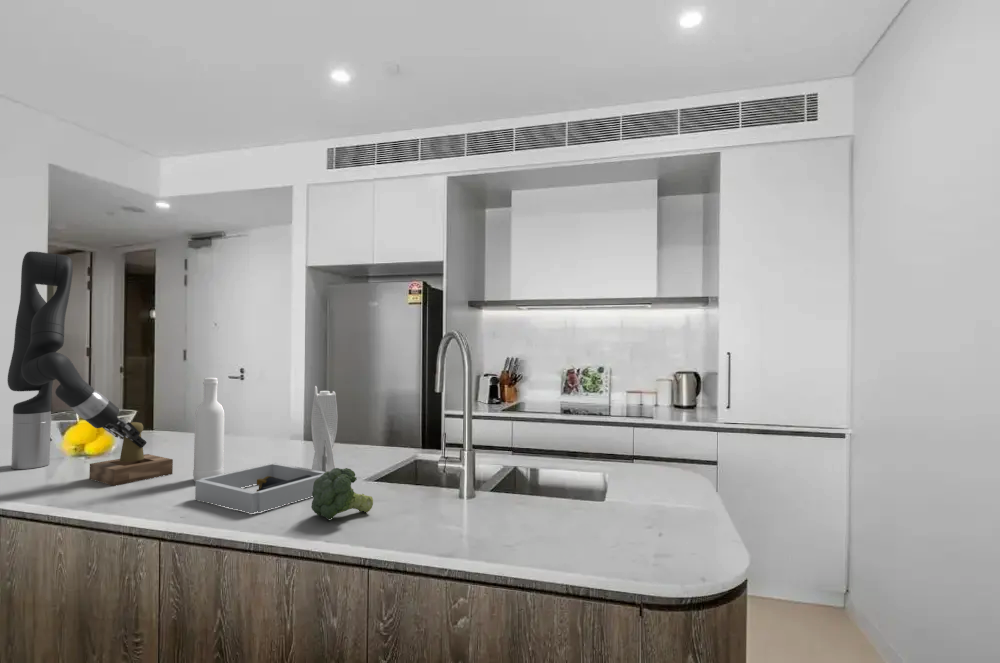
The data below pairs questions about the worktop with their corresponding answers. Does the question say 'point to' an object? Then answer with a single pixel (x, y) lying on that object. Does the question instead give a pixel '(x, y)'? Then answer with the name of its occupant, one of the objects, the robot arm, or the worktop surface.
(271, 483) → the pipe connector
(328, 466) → the skyscraper
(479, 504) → the worktop surface
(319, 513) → the vegetable
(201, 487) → the tray rim
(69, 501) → the worktop surface
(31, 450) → the robot arm
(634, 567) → the worktop surface
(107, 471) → the socket block
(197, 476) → the bottle
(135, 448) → the cork
